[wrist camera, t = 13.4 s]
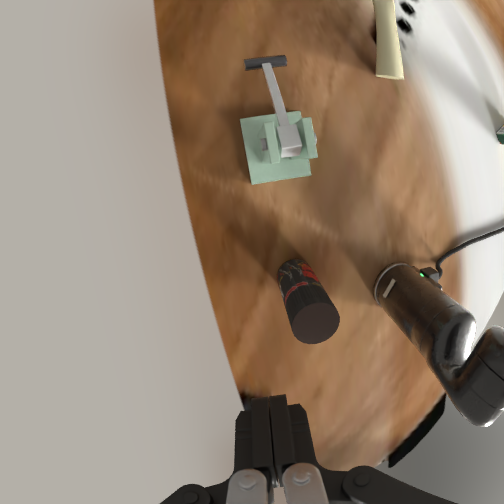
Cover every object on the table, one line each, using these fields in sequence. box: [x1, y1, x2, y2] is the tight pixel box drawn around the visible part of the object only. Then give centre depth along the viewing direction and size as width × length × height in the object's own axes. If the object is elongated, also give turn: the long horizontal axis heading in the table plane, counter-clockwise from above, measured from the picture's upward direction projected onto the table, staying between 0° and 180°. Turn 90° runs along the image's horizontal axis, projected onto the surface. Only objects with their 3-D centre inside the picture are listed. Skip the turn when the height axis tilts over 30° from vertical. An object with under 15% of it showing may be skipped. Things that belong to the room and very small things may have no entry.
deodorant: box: [277, 259, 340, 344], centre depth 39 cm, size 6×6×15 cm
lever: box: [243, 55, 302, 158], centre depth 30 cm, size 15×6×2 cm, turn 10°
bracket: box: [240, 111, 318, 185], centre depth 34 cm, size 10×9×14 cm
